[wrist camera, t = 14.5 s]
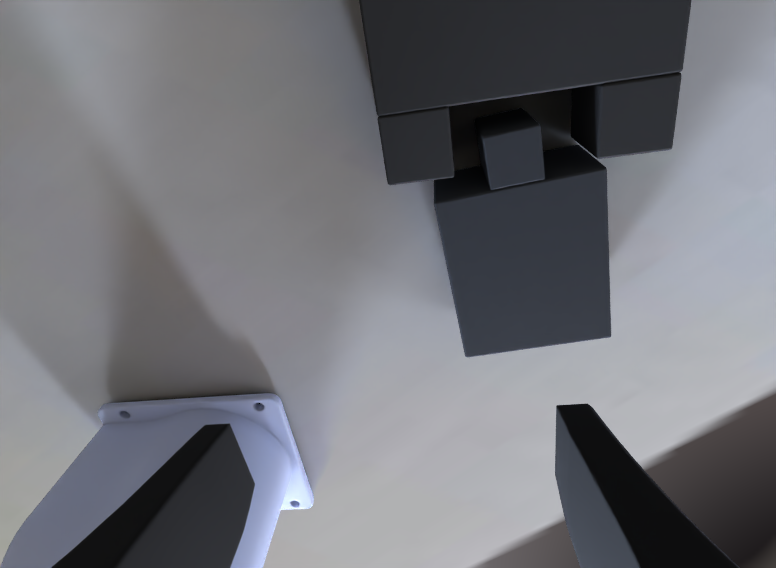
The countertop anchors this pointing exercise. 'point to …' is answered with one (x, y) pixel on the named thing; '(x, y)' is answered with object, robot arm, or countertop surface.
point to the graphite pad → (526, 240)
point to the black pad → (523, 70)
